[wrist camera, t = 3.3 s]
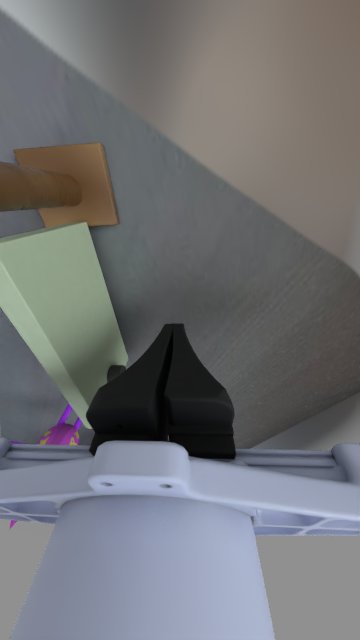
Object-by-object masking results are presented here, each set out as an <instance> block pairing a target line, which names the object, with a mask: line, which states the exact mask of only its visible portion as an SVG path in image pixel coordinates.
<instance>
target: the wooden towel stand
mask: <svg viewBox="0 0 360 640" xmlns="http://www.w3.org/2000/svg"><path fill="white" fill-rule="evenodd" d="M13 151H14V154H15V156H16V158H17V161H18V163H19V165H16V164H11V163H5V162H0V212H4V211H17V210H29V209H38V210H39V213H40V215H41V217H42V220H43V222H44V224H45V227H46V228H48V227H52V226H57V225H62V224H66V223H74V222H87V225H88V226H104V225H117V224H120V223H119V218H118V213H117V209H116V204H115V199H114V195H113V190H112V185H111V181H110V176H109V171H108V167H107V162H106V157H105V153H104V148H103V145H102V144H100V143H87V144H75V145H64V146H52V147H40V148H28V149H16V150H13Z"/></svg>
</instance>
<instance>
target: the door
mask: <svg viewBox="0 0 360 640" xmlns="http://www.w3.org/2000/svg"><path fill="white" fill-rule="evenodd" d="M0 307H1V308H2V310H3V311H4V313H5V314H6V315H7V317H8V318H9V320H10V321H11V322H12V324H13V325H14V327H15V328H16V329H17V331H18V332H19V334H20V335H21V336H22V338H23V339H24V341H25V342H26V344H27V345H28V346H29V348H30V349H31V351H32V352H33V353H34V355H35V356H36V358H37V359H38V360H39V362H40V363H41V365H42V366H43V367H44V369H45V370H46V372H47V373H48V375H49V376H50V377H51V379H52V380H53V382H54V383H55V384H56V386H57V387H58V389H59V390H60V391H61V393H62V394H63V396H64V397H65V398H66V400H67V401H68V403H69V404H70V406H71V407H72V408H73V410H74V411H75V413H76V414H77V415H78V417H79V418H80V420H81V421H82V422H83V424H84V425H85V427H86V428H87V429H92V427H91V426H90V424H89V423H88V421H87V418H86V412H87V410H88V408H89V406H90V404H91V402H92V400H93V398H94V396H95V394H96V392H97V391H98V389H99V388H100V387H101V386H103V385H105V384H106V383H108V382H110V381H111V380H113V379H114V378H116V377H117V376H119V375H120V374H121V373H123V372H124V371H125V370H126V368H125V366H126V364H127V361H128V356H127V353H126V350H125V346H124V343H123V340H122V337H121V333H120V330H119V327H118V324H117V320H116V317H115V314H114V310H113V307H112V304H111V301H110V297H109V294H108V291H107V287H106V284H105V281H104V278H103V274H102V271H101V268H100V265H99V261H98V258H97V255H96V251H95V248H94V245H93V242H92V238H91V235H90V232H89V228H88V225H87V222H74V223H66V224H62V225H57V226H52V227H48V228H43V229H39V230H34V231H29V232H25V233H20V234H16V235H11V236H7V237H2V238H0Z"/></svg>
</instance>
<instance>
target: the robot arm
mask: <svg viewBox="0 0 360 640" xmlns="http://www.w3.org/2000/svg"><path fill="white" fill-rule="evenodd" d="M86 418H87V421H88V423H89V424H90V426H91V427H92V429H93V430H94V432H95V435H94V438H93V441H92V443H91V446H86V445H39V444H12V442H10V441H9V440H8V439H6V438H4V437H0V519H5V520H16V521H27V522H36V523H45V524H55V527H54V529H53V532H52V534H51V537H50V539H49V541H48V544H47V546H46V549H45V552H44V554H43V556H42V559H41V561H40V564H39V566H38V569H37V571H36V574H35V576H34V579H33V581H32V584H31V586H30V588H29V591H28V593H27V596H26V598H25V601H24V603H23V606H22V608H21V611H20V613H19V616H18V619H17V621H16V623H15V626H14V628H13V631H12V633H11V636H10V638H9V640H275V636H274V631H273V626H272V621H271V616H270V611H269V606H268V601H267V595H266V591H265V586H264V580H263V575H262V570H261V565H260V560H259V555H258V550H257V545H256V539H255V536H257V535H258V536H260V535H261V536H263V535H264V536H267V535H345V536H360V443H340V444H337V445H335V446H334V447H333V448H332V450H331V451H321V450H320V451H318V450H274V449H273V450H272V449H235V444H234V439H233V435H234V434H233V427H232V423H233V419H234V408H233V405H232V402H231V400H230V397H229V395H228V393H227V391H226V389H225V388H224V387H223V386H222V385H221V384H220V383H219V382H218V381H217V380H216V379H215V378H214V377H213V376H212V375H211V374H210V373H209V372H208V370H207V369H206V368H205V367H204V366H203V364H202V363H201V362H200V360H199V359H198V357H197V356H196V354H195V352H194V351H193V349H192V347H191V345H190V343H189V341H188V338H187V336H186V333H185V329H184V324H165V325H164V327H163V329H162V330H161V332H160V333H159V335H158V336H157V338H156V339H155V341H154V342H153V343H152V345H151V346H150V347H149V348H148V349H147V351H146V352H145V353H144V354H143V355H142V356H141V357H140V358H139V359H138V360H137V361H136V362H135V363H134V364H133V365H132V366H130V367H129V368H128V369H127V370H125V371H124V372H123V373H121V374H120V375H119V376H117V377H116V378H114V379H113V380H111V381H110V382H108V383H106V384H105V385H103V386H101V387H100V388H99V389H98V391H97V392H96V394H95V396H94V398H93V400H92V402H91V404H90V406H89V408H88V410H87V412H86ZM168 436H169V441H170V442H168Z"/></svg>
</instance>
